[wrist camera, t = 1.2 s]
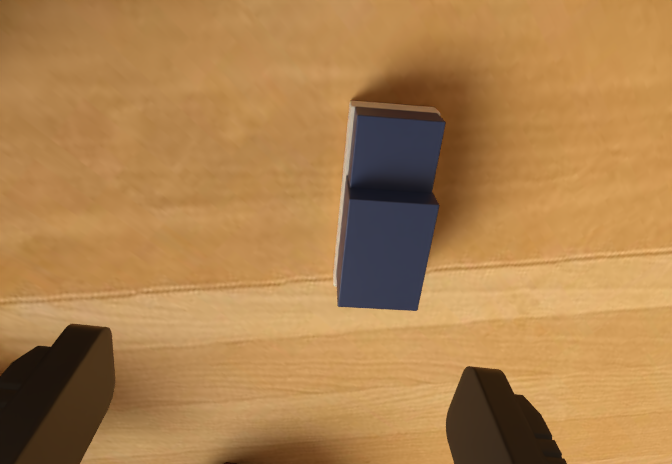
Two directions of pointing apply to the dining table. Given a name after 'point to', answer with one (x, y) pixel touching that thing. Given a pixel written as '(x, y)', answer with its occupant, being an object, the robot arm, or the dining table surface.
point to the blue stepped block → (387, 204)
